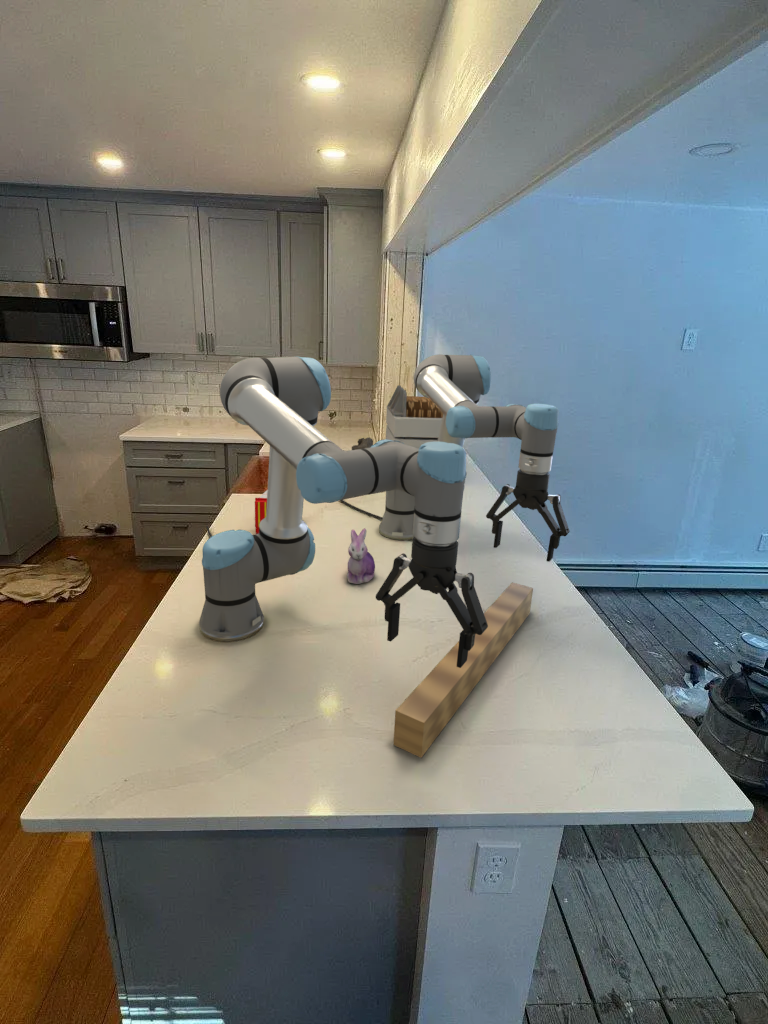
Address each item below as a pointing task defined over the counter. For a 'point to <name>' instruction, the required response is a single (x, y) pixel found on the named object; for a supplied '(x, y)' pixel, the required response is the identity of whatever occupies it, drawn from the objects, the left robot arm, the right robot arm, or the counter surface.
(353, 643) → the counter surface
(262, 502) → the red striped tall box
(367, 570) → the figurine
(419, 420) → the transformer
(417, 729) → the post
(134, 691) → the counter surface
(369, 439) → the fossil
